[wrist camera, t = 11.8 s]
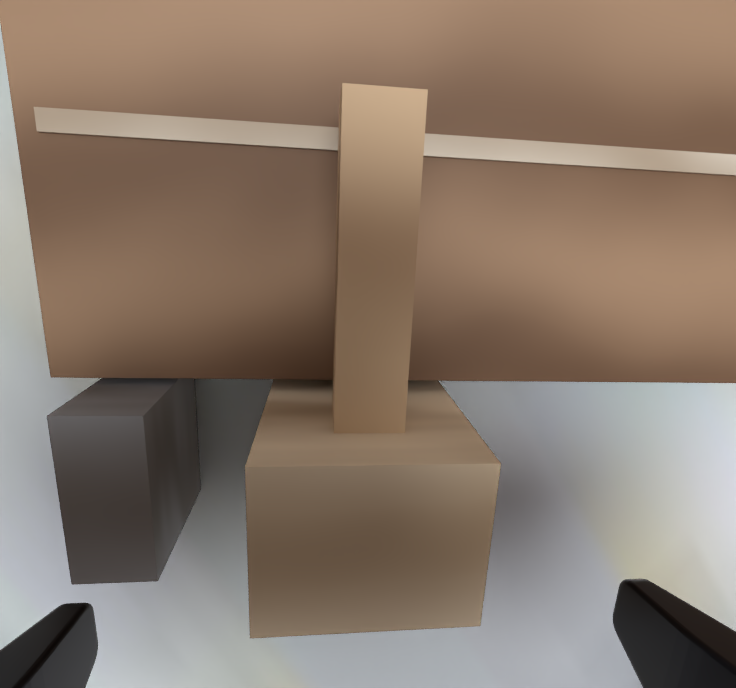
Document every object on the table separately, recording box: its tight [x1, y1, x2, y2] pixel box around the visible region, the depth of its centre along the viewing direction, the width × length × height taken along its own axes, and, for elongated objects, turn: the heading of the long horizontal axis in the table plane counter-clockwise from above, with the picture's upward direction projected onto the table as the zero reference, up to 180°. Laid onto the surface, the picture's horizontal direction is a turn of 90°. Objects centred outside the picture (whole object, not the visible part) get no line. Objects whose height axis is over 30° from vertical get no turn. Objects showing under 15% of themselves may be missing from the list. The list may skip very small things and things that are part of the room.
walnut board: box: [0, 0, 736, 584], centre depth 12 cm, size 17×30×4 cm, turn 88°
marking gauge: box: [245, 83, 501, 638], centre depth 11 cm, size 11×5×6 cm, turn 178°
